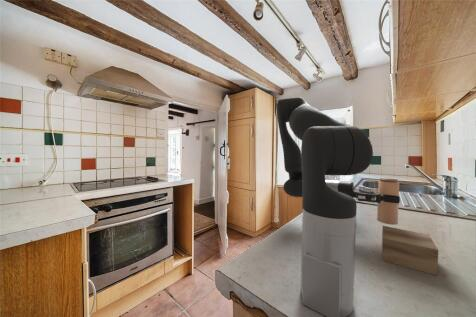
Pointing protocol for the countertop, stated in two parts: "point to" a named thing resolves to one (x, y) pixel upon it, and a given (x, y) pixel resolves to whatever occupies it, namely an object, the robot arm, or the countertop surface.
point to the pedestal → (409, 249)
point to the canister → (386, 209)
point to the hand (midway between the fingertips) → (398, 198)
